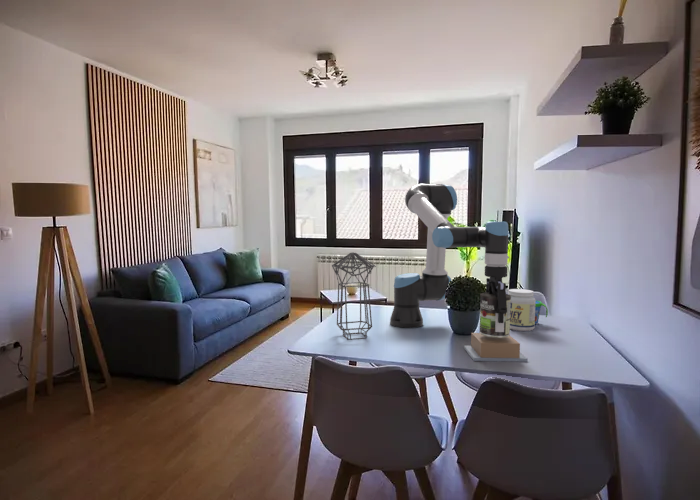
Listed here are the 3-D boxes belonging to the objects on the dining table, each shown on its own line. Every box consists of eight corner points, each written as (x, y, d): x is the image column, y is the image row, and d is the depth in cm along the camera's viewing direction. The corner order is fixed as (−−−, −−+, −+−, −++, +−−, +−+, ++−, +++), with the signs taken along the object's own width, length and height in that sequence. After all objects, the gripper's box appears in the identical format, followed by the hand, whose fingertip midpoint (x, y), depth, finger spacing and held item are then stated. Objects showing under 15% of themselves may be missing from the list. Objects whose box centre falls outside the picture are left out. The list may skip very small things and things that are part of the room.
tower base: (473, 360, 137) (474, 343, 137) (463, 348, 151) (464, 332, 151) (527, 361, 136) (528, 344, 136) (512, 348, 150) (513, 332, 150)
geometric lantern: (340, 343, 158) (338, 253, 156) (332, 333, 173) (330, 252, 172) (378, 339, 161) (377, 252, 160) (367, 330, 177) (366, 251, 175)
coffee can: (494, 339, 137) (495, 298, 136) (473, 332, 146) (473, 293, 145) (516, 335, 141) (517, 295, 140) (494, 328, 150) (495, 291, 149)
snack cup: (508, 322, 190) (509, 301, 190) (514, 318, 199) (514, 298, 198) (545, 327, 181) (545, 305, 181) (549, 322, 190) (549, 301, 189)
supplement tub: (499, 327, 182) (500, 290, 181) (514, 323, 189) (515, 287, 188) (525, 333, 172) (526, 293, 171) (540, 328, 179) (541, 291, 178)
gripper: (518, 269, 130) (517, 336, 132) (496, 262, 153) (495, 320, 154) (495, 268, 131) (493, 336, 132) (476, 262, 153) (475, 320, 155)
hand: (494, 327), depth 143 cm, fingers closed on coffee can, 10 cm apart
